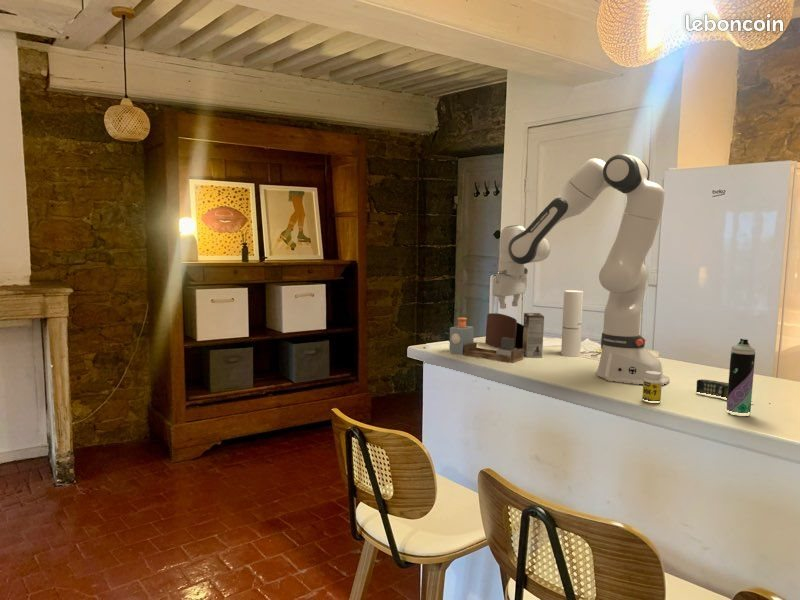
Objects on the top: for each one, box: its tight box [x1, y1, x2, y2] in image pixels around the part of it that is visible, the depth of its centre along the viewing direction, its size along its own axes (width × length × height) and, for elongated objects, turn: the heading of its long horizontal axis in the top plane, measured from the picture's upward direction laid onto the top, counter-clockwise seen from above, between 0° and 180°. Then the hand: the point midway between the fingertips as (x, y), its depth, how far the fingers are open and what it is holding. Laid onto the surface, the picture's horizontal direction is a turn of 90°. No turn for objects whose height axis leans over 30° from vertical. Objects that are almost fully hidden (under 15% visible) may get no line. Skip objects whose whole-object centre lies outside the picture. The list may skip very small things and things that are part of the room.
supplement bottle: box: [641, 371, 663, 402], centre depth 165 cm, size 5×5×8 cm
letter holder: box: [484, 312, 524, 349], centre depth 245 cm, size 10×20×14 cm, turn 27°
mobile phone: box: [695, 379, 729, 398], centre depth 170 cm, size 5×3×15 cm
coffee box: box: [523, 312, 545, 359], centre depth 228 cm, size 9×6×16 cm
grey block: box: [448, 325, 475, 356], centre depth 231 cm, size 6×8×10 cm
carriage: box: [495, 337, 519, 357], centre depth 219 cm, size 6×6×7 cm
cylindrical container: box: [560, 289, 584, 358], centre depth 229 cm, size 7×7×25 cm
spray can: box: [726, 338, 756, 413], centre depth 154 cm, size 6×6×20 cm
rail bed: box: [463, 341, 524, 364], centre depth 223 cm, size 21×8×4 cm, turn 52°
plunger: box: [457, 317, 468, 328], centre depth 231 cm, size 4×4×7 cm
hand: (508, 307), depth 218 cm, fingers open, 8 cm apart
